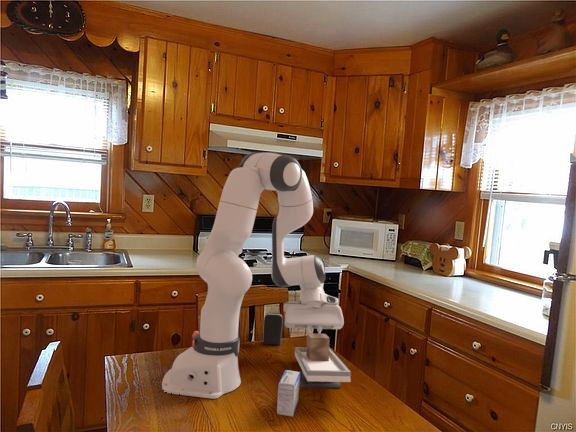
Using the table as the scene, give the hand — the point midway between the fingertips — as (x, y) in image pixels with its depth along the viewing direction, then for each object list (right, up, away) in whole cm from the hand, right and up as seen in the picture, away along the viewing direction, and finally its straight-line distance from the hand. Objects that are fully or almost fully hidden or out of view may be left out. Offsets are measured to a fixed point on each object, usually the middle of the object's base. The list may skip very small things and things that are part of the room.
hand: (315, 339), depth 134 cm
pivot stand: (0, -10, -9) cm, 14 cm away
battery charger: (-15, -7, +17) cm, 24 cm away
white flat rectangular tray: (+1, -5, -10) cm, 11 cm away
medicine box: (-9, -11, -25) cm, 29 cm away
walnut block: (0, -4, -5) cm, 6 cm away
